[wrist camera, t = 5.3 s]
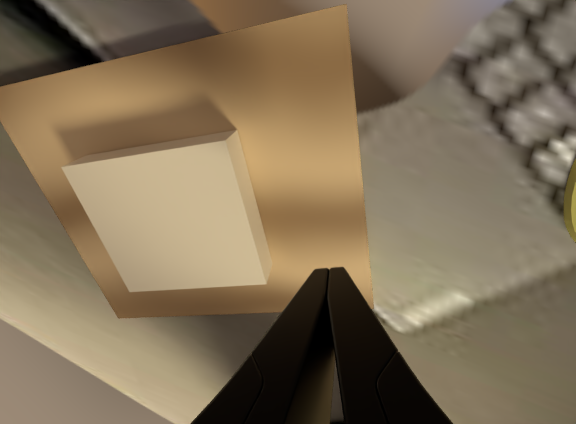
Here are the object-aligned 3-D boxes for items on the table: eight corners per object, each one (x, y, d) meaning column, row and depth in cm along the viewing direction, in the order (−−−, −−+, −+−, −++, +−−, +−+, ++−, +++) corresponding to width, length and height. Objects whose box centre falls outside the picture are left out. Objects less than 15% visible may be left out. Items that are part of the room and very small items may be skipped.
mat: (372, 300, 17) (373, 308, 17) (123, 311, 21) (118, 318, 20) (346, 5, 11) (346, 3, 11) (-6, 89, 14) (-18, 90, 14)
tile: (266, 284, 15) (129, 292, 16) (272, 262, 16) (146, 271, 18) (225, 140, 12) (61, 167, 13) (237, 129, 13) (87, 154, 15)
